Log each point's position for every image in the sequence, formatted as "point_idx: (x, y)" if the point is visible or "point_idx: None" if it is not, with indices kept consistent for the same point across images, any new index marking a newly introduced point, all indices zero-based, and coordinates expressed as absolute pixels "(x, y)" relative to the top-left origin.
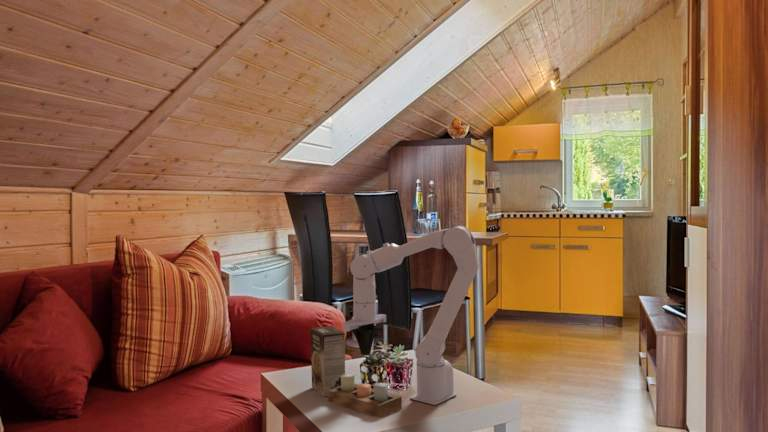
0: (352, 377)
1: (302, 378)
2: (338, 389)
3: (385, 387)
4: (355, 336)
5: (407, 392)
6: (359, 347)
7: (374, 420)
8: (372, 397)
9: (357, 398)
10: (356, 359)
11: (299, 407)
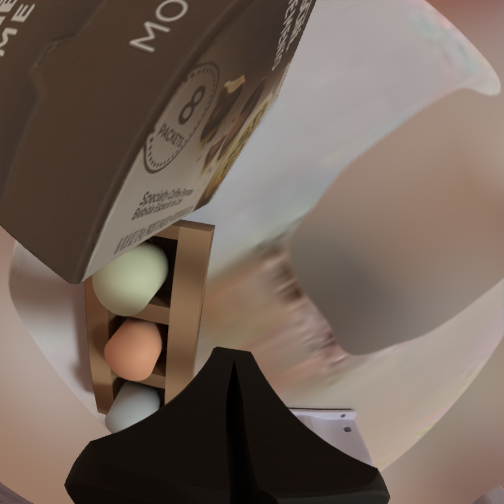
0: (119, 314)
1: None
2: None
3: None
4: (146, 420)
5: (313, 377)
6: (204, 366)
7: (91, 389)
8: None
9: (92, 347)
10: (496, 76)
11: None
